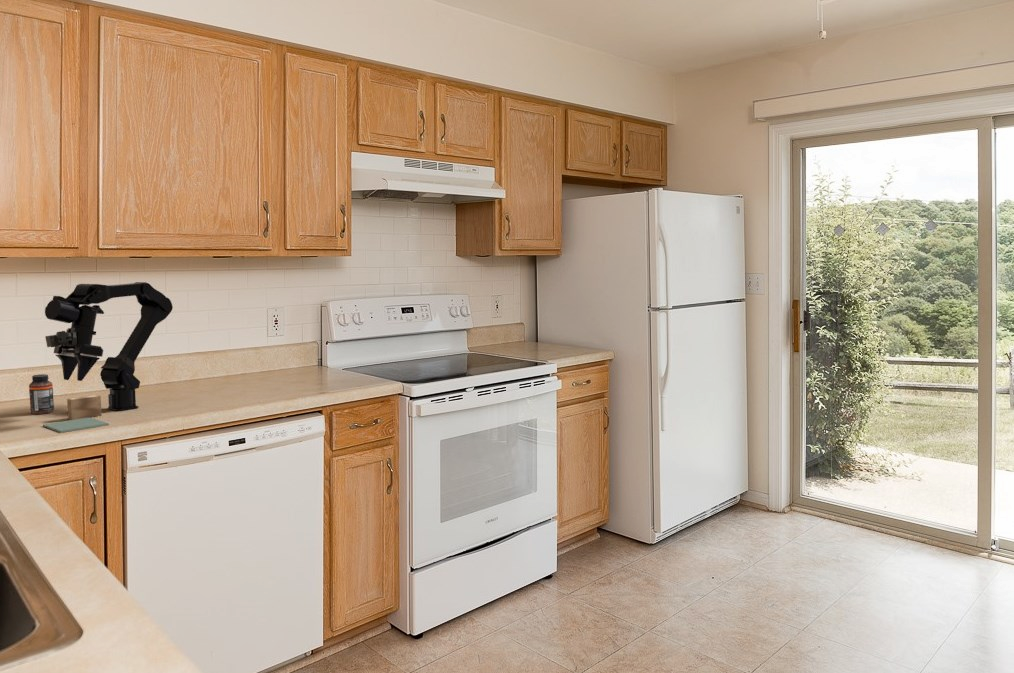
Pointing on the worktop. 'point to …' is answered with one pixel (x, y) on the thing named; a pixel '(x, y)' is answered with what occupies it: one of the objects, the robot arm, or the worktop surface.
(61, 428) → the mat
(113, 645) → the worktop surface
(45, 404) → the supplement bottle
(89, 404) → the slab
